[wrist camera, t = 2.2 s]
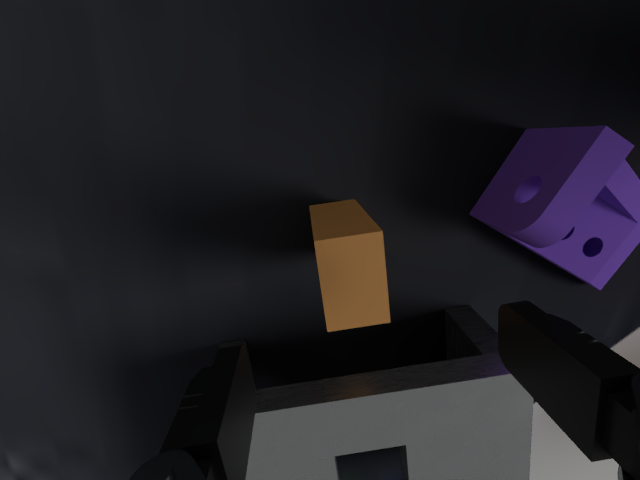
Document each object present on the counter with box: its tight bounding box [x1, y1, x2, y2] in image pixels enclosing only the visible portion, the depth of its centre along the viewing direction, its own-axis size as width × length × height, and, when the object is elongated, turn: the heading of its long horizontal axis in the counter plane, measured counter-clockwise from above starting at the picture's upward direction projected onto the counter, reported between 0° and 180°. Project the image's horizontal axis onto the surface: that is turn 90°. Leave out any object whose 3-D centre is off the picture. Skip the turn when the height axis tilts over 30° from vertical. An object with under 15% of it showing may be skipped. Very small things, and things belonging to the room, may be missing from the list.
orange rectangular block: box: [309, 199, 391, 332], centre depth 20 cm, size 3×4×10 cm, turn 8°
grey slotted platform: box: [212, 306, 533, 480], centre depth 26 cm, size 20×14×8 cm
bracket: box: [469, 126, 640, 290], centre depth 23 cm, size 12×7×7 cm, turn 61°
